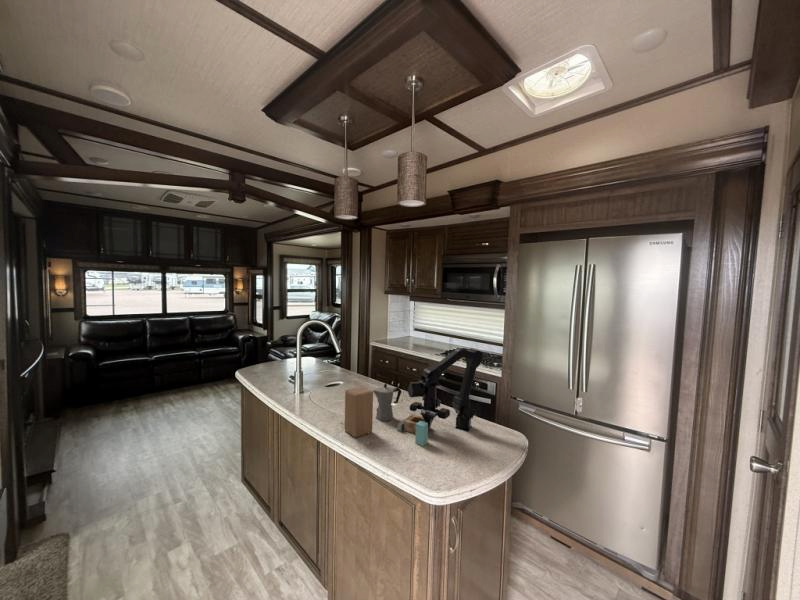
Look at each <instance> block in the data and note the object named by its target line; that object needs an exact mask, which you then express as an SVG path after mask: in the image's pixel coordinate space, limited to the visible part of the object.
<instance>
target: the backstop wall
mask: <svg viewBox="0 0 800 600" xmlns="http://www.w3.org/2000/svg"><path fill="white" fill-rule="evenodd" d="M412 415H413V414H410V415H409V416H408V417H406V418H404V419H403V420H401V421H400V422H398V423H397V432H400V433H402V432H403V431H405V430H404V421H405V420H406V419H408V418H409V417H411V416H412Z"/></svg>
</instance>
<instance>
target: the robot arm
mask: <svg viewBox="0 0 800 600" xmlns="http://www.w3.org/2000/svg"><path fill="white" fill-rule="evenodd" d="M462 358H465V365H466V366H465V370H464V374H463V378H462V382H461V386H460V390H459V393H458V395H453V400H452V402H451V404H452V409H453V410H454V412H455V413H456V418H455V429H457V430H460V431H461V430H462V431H463V432H469V431H470V430H471V428H473V426H472V419H473V418H474V415H475V413H473V412H472V410H470V408H471V402H470V395H471V394H470V393H471V391H472V386H473V383H474V379H475V374H476V371H477V369H478V368H479V366H480V365H481V363H482V361H483V359H484V354H483V352H482V351H481V350H478V349H475V348H472V347H471V348H469V349H468V348H467V349H466V348H461V347H456V348H455V349H454V350H453V351H452V352H450V353H449V354H448V355H446V356H444V358H442V359H441V360H440V361H439V362H437V363H435V364H431V365H429V366H428V367H425V368H424V369H423V371H422V374H421V375H420V377H419V378H418V380H417V381H415V382H414V381H410V383H409V385H408V388H407V393H408V396H409V397H410V398H419V397H422V401H423V403H422V402H419V401H414V402H412V403H411V404H410V405H409V411H411V412H415V413H416V411H418V410H419V411H420V413H419V416H421V417H423V418H424V420H425V422H426V423H428V428H430V426H432V423H433V421H434V419H435V418H436V417H437V418H439V419H443V420H446V419H447V418H448V417H450V415H451V411H450V409H448V408H444V407H441V404H442V403H441V402H442V400H440V399H438V396H437V387H440V386H441V385H442V384H441V383H440V382H439V381H438V380H440V378H441V377H442V375H443V373H444V372H445V371H446V370H448V369H449V368H450V367H451V366H453V365H454V364H455V363H457V362H458V361H459V360H460V359H462ZM439 407H441V408H439ZM438 408H439V409H438ZM430 429H431V428H430Z"/></svg>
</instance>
